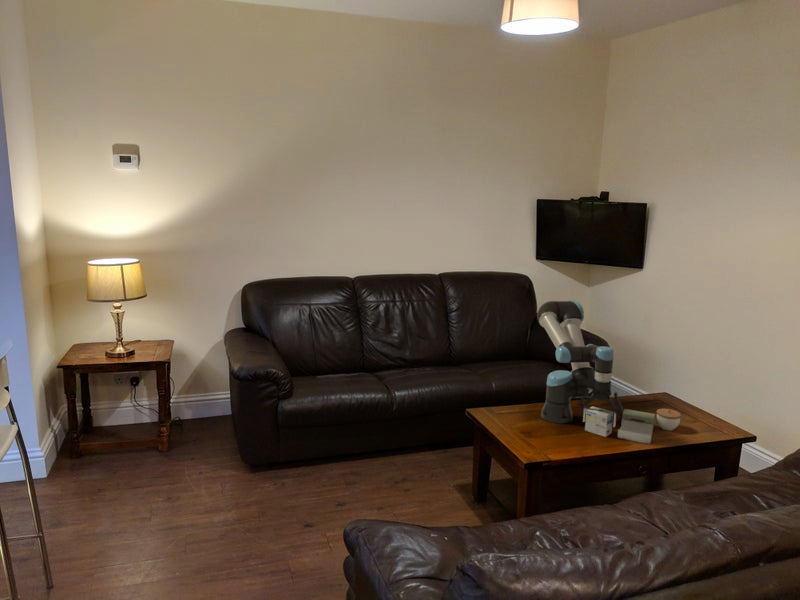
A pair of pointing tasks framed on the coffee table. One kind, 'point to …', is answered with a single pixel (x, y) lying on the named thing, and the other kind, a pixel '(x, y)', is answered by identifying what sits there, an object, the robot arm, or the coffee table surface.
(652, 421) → the olive green block
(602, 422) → the light bulb box
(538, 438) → the coffee table surface
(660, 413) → the lidded jar
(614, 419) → the robot arm
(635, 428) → the chute
